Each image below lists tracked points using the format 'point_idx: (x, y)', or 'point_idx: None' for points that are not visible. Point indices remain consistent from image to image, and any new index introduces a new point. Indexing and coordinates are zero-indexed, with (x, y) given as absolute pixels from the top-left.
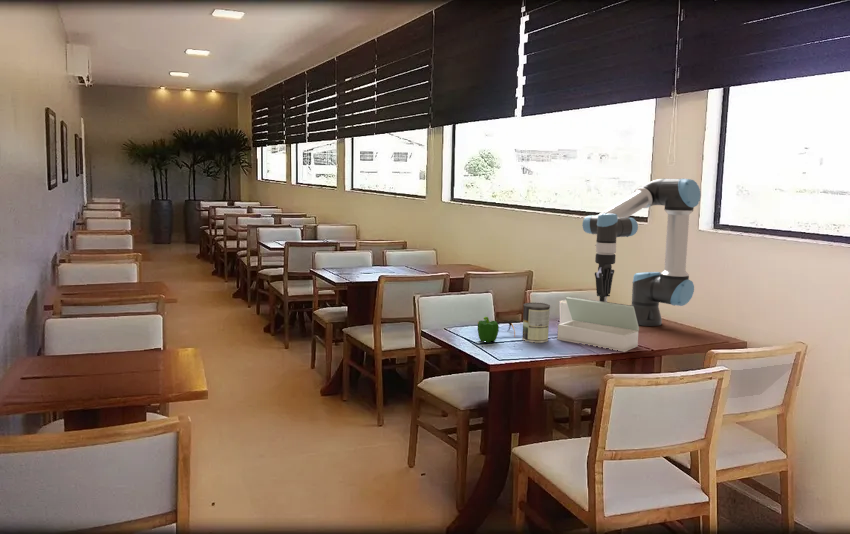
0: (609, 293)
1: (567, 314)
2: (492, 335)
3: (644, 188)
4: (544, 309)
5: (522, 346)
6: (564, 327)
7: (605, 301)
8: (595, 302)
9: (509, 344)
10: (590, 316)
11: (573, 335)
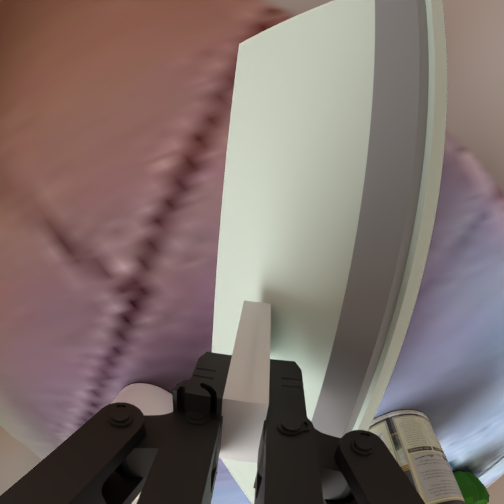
0: (130, 410)
1: None
2: (472, 480)
3: None
4: (458, 501)
5: (481, 417)
6: None
7: (267, 369)
8: (370, 421)
9: (468, 444)
10: None
11: None
